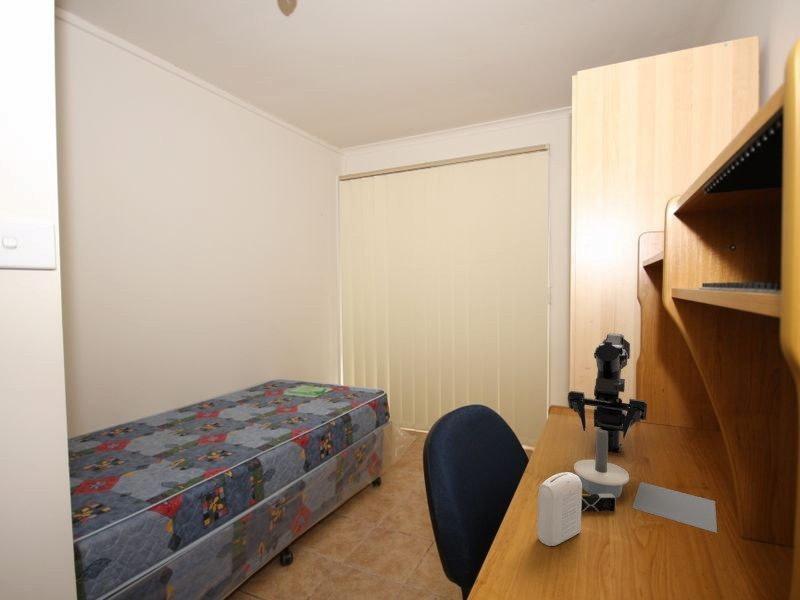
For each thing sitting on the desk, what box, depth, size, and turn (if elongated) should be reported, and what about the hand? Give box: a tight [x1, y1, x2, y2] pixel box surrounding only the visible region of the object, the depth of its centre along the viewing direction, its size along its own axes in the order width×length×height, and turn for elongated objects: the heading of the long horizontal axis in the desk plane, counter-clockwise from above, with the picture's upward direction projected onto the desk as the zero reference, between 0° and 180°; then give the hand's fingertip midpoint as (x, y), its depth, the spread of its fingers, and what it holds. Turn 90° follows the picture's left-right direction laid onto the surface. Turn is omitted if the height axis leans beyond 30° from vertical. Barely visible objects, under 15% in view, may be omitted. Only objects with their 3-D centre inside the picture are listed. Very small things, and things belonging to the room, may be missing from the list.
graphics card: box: [581, 493, 617, 512], centre depth 90 cm, size 12×3×5 cm, turn 92°
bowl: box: [578, 475, 623, 498], centre depth 100 cm, size 9×9×4 cm
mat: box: [632, 481, 718, 534], centre depth 93 cm, size 15×15×1 cm
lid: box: [573, 429, 630, 486], centre depth 100 cm, size 12×12×10 cm
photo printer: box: [536, 471, 583, 547], centre depth 82 cm, size 10×4×12 cm, turn 123°
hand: (603, 433), depth 105 cm, fingers open, 9 cm apart
